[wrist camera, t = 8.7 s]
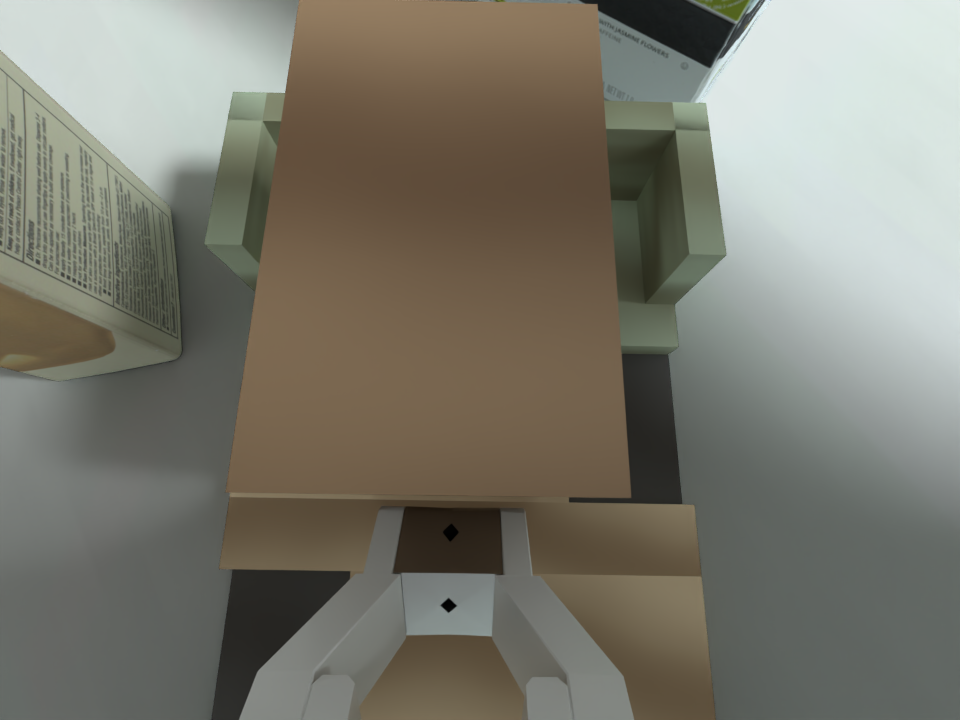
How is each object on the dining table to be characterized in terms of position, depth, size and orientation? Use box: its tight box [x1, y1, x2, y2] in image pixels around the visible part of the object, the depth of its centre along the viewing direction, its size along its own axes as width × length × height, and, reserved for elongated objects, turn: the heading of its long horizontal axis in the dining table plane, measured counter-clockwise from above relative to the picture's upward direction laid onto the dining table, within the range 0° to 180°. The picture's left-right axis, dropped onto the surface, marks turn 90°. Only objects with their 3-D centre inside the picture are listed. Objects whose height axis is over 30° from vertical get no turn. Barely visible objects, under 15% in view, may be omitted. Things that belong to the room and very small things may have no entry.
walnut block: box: [225, 0, 631, 498], centre depth 11 cm, size 8×5×9 cm, turn 179°
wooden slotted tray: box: [204, 92, 726, 720], centre depth 13 cm, size 26×14×4 cm, turn 179°
